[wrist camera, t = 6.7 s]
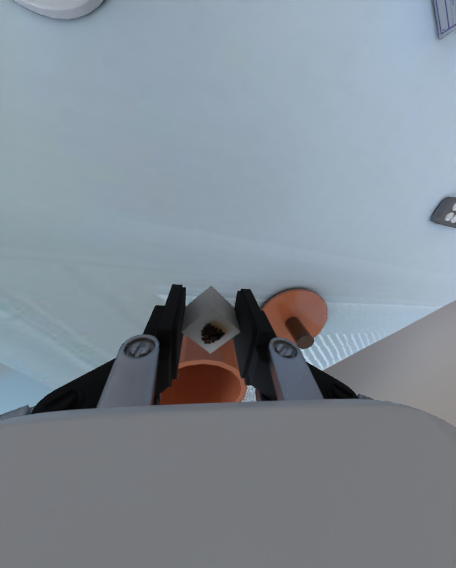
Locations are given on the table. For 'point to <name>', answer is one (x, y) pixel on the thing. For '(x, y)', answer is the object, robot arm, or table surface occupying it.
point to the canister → (206, 376)
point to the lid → (297, 316)
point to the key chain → (446, 212)
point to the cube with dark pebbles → (210, 320)
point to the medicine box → (445, 16)
